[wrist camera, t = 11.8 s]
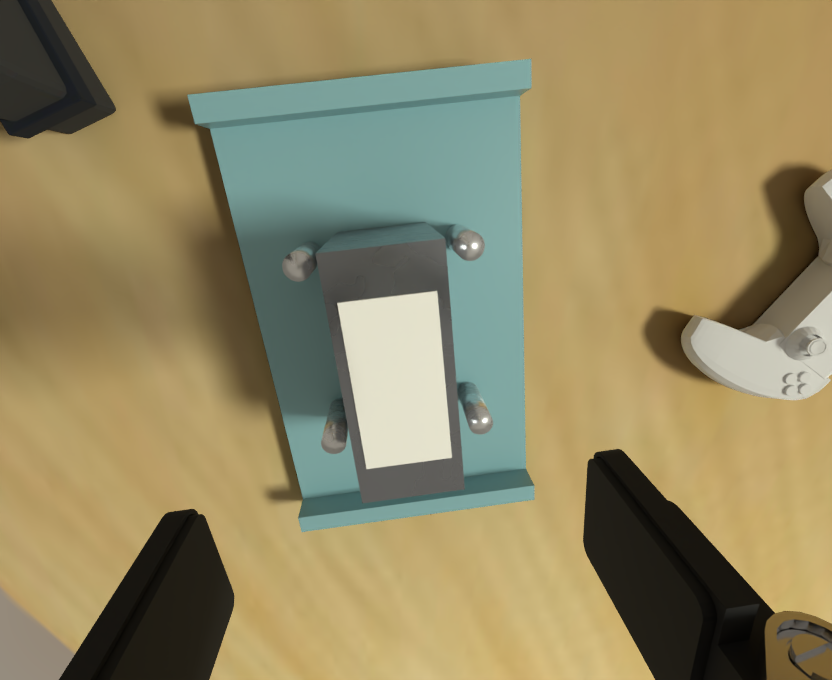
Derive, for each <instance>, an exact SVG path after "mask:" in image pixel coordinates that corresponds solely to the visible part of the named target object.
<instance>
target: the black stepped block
mask: <svg viewBox="0 0 832 680" xmlns="http://www.w3.org/2000/svg"><path fill="white" fill-rule="evenodd" d="M115 111H116V108H115V105H114V104H113V102H112V100H111V99H110V97H109V95H108V94H107V92H106V90H105V89H104V87H103V85H102V84H101V82H100V80H99V79H98V77H97V75H96V74H95V72H94V71H93V69H92V67H91V66H90V64H89V62H88V61H87V59H86V57H85V56H84V54H83V52H82V51H81V49H80V47H79V46H78V44H77V42H76V41H75V39H74V37H73V36H72V34H71V32H70V31H69V29H68V27H67V26H66V24H65V22H64V21H63V19H62V17H61V16H60V14H59V12H58V11H57V9H56V7H55V6H54V4H53V2H52V1H51V0H0V121H1V123H2V124H3V126H4V128H5V129H6V131H7V133H8V134H9V135H12V136H17V137H23V138H31V137H33V136H35V135H37V134H39V133H41V132H43V131H45V130H52V131H57V132H61V133H66V134H72V133H74V132H76V131H78V130H80V129H82V128H84V127H86V126H88V125H91V124H93V123H95V122H97V121H99V120H101V119H103V118H105V117H107V116H109V115H111V114H113V113H114V112H115Z"/></svg>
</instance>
